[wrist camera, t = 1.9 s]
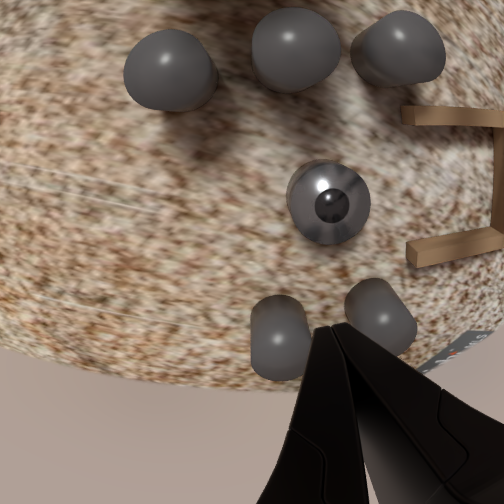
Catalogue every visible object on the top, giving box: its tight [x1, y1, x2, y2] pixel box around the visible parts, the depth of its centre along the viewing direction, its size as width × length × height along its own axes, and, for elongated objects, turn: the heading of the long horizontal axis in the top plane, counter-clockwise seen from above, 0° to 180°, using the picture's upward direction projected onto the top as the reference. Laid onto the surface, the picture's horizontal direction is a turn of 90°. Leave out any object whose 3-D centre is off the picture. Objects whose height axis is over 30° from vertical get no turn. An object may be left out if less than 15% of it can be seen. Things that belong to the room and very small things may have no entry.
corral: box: [400, 106, 504, 268], centre depth 17 cm, size 10×11×2 cm
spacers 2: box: [250, 278, 417, 381], centre depth 20 cm, size 11×4×4 cm, turn 100°
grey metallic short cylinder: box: [286, 159, 371, 245], centre depth 18 cm, size 5×5×3 cm
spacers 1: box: [124, 7, 446, 112], centre depth 13 cm, size 16×4×4 cm, turn 100°
